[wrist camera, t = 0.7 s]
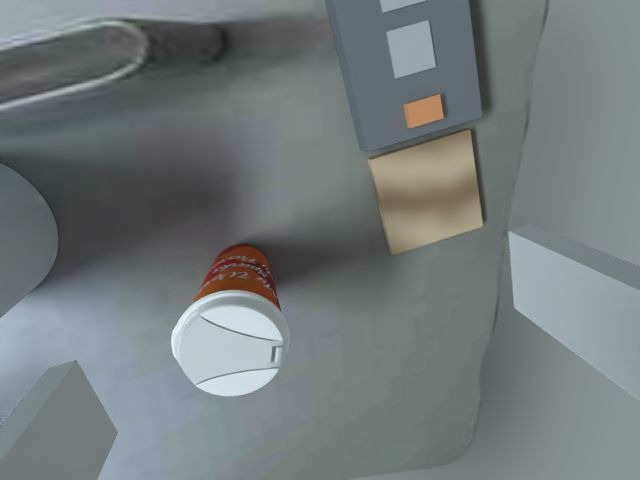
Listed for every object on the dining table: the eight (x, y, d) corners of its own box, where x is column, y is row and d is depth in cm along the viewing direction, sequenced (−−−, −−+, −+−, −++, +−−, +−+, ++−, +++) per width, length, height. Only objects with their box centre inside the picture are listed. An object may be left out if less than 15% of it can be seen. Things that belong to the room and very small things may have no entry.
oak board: (367, 158, 36) (370, 159, 35) (464, 129, 36) (470, 129, 35) (389, 252, 39) (392, 255, 38) (477, 223, 40) (483, 226, 39)
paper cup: (284, 238, 37) (299, 303, 24) (275, 308, 39) (283, 403, 26) (202, 229, 35) (169, 294, 22) (197, 303, 38) (164, 401, 24)
